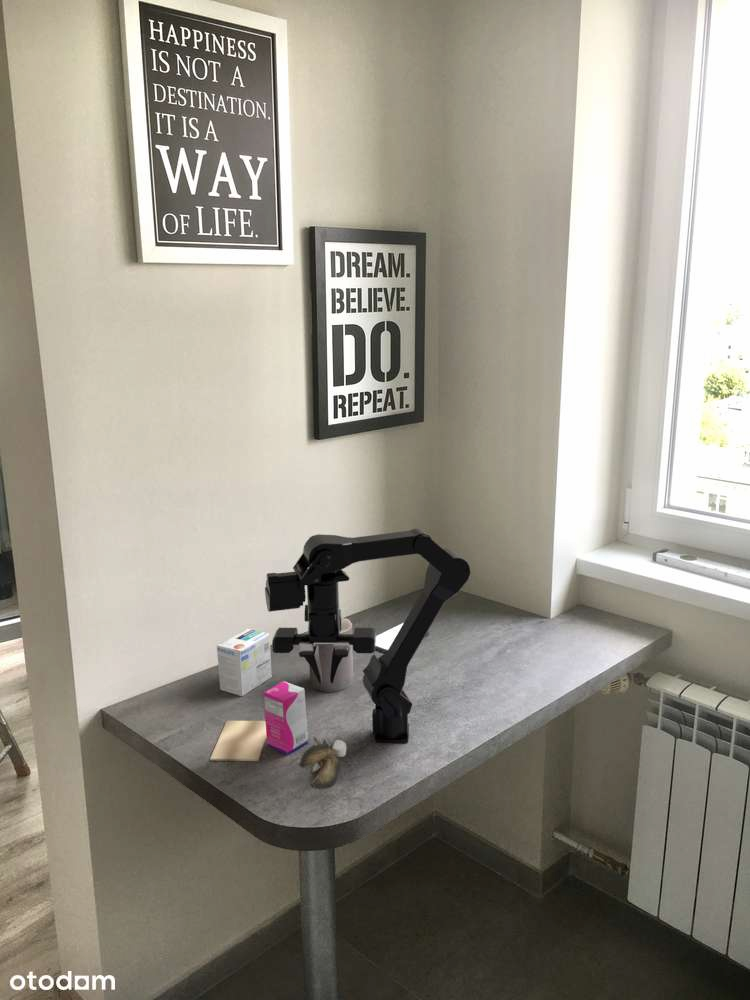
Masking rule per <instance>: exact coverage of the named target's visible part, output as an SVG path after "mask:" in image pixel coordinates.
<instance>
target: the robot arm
mask: <svg viewBox="0 0 750 1000" xmlns="http://www.w3.org/2000/svg"><path fill="white" fill-rule="evenodd" d="M302 550H303V551H302V554H301V555H300V556H299V558H298V560H297V561H296V562H295V564H294V565H293V567H292V569H293V571H287V572H286V571H285V572H279V573H278V572H270V573H269V572H268V573H267V574H266V581H265V587H264V594H265V595H264V596H265V604H266V609H267V611H268V613H269V612H277V611H278V612H279V611H286V610H287V611H288V610H294V609H300V608H301V607H303V606H304V622H307V623H308V625H309V634H307V633H301V634H300V633H298V631H299V629H298V628H297V627H278V628H277V629H276V631H275V633H274V635H273V637H272V643H271V645H272V647H271V648H272V653H274V654H290V653H291V652H292V651H294V646H295V645H296V646H299V652H298V657H300V658H304V659H305V661H306V662H307V663H308V665H309V667H310V666H311V668H312V670H313V672H314V674H315V676H316V678H317V680H318V682H319V683H321V682H322V671H321V665H320V658H319V649H318V645H334V649H333V653H332V662H331V674H330V681H331V683H333V681H334V678H335V674H336V671H337V668H338V666H339V664H340V662H341V660H342V658H343V657H348V655H349V649H350V645H352V651H354V652H355V653H357V654H372V656H371V657H370V660H369V662H368V664H367V665H366V667H365V668H364V669H362V673H363V677H362V683H363V687H364V689H365V691H366V692H367V695H368V696H369V698H370V699H371V701H372V702H373V704H375V707H374V708H373V709H372V714H371V717H372V721H371V723H372V735H374V741H375V742H376V743H409V741H410V740H409V737H410V735H409V734H410V733H409V732H410V725H409V724H410V723H409V714H410V713H411V710H412V707H413V703H412V700H410V698H409V696H408V695H407V694H406V692H405V691H404V686H405V684H406V679H407V678H406V677H407V670H408V666H409V664H410V662H411V661H412V659H413V657H414V655H415V654H416V652H417V650H418V648H419V647H420V645H421V643H422V642H423V640H424V637H425V635H426V633H427V632H428V630H429V631H430V628H431V626H432V624H433V623H434V621H435V620H436V618H437V616H438V614H439V613H440V611H441V609H442V608H443V606H444V605H445V603H446V602H447V601H449V600H450V599H451V598H453V597H455V596H456V595H457V594H458V593H459V592H460V591H461V589H462V588H463V587H464V586H465V585H466V583H467V582H468V580H470V577H471V572H472V571H471V567H470V564H468V563H469V562H468V561H467V560H465V559H464V558H463V557H461V556H460V555H459V554H458V553H457V552H455V551H454V550H453V549H450V548H442V547H441V546H440V545H439V544H437V543H436V542H435V541H434V540H432V537H431V535H429V534H428V533H427V532H425V531H424V530H423V529H421V528H413V529H411V530H402V531H395V532H388V533H387V532H386V533H380V534H379V533H378V534H372V535H364V536H357V537H349V536H348V537H346V536H342V535H334V534H319V533H318V534H314V535H312V536H310V537H309V538H308V539H307V541H305V543H304V546H303V549H302ZM410 555H419V556H421V557H422V558H423V559H424V560H426V562H428V563H429V564H428V566H427V568H426V573H425V578H424V585H423V589H422V591H421V592H420V595H419V596H418V598H417V599H416V601H415V602H414V605H413V607H411V610H410V611H409V613H408V615H407V616H406V618H405V620H404V622H403V623H404V624H403V625H402V627H401V629H400V630H399V632H398V634H397V636H396V637H395V639H394V641H393V642H392V644H391V646H390V648H389V649H388V651H387V652H386V653H382V655H380V656H377V655H375V654H374V653H375V651H376V650H375V644H376V636H377V635H376V634H377V631H376V630H375V628H373V627H354V630H353V633H352V634H340V631H341V629H342V623H341V618H342V611H341V609H340V596H339V583H340V582H341V583H342V582H348V581H349V580H350V577H349V575H348V574H347V572H346V571H344V569H345V568H348V567H349V566H351V565H353V564H357V563H358V562H359V563H360V562H366V561H373V560H374V561H375V560H381V559H389V558H395V557H403V556H410ZM306 595H307V604H305V605H304V603H305V602H306ZM425 638H426V637H425Z"/></svg>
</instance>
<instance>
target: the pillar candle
mask: <svg viewBox="0 0 750 1000" xmlns="http://www.w3.org/2000/svg"><path fill="white" fill-rule="evenodd" d="M341 623H342V629H341V631H340V634H353V623H352V622H351V621H350V619H348V618H344V617H341ZM307 628H308V629H307V630H308V634H309V624H308V626H307ZM318 649H319V658H320V665H321V671H322V682H321V683H319V682H318V680H317V678H316V676H315V674H314V672H313V670H312V668H311V666H310V665H309V684H310V686H311V687H312V688H313V689H315V690H317V691H320V692H325V693H329V692H330V693H332V692H340V691H345V690H346V689H349V687H351V686H352V684H353V681H354V670H353V669H354V668H353V665H354V664H353V662H354V661H353V659H354V658H353V645H350V649H349V655H348V657H343V658H342V660H341V662H340V664H339V666H338V668H337V671H336V674H335V678H334V681H333V683H331V681H330V674H331V662H332V653H333V649H334V645H318Z"/></svg>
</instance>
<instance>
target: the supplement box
mask: <svg viewBox="0 0 750 1000" xmlns="http://www.w3.org/2000/svg"><path fill="white" fill-rule="evenodd" d="M262 696H263V706H264V721H265V722H266V735H267V737H266V745H267V746H268V747H270V748H272V749H275V750H276V751H278V752H280V753H282V754H285V755H287V756H289V755H290V754H292V753H293V752H295V751H297V750H298V749H300V748H301V747H303V746H305V745H306V744H308V743H309V737H308V735H309V734H308V723H307V710H306V709H307V708H306V707H307V705H306V693H305V688H304V687H301V686H298V685H295V684H293V683H289V682H287V681H282V682H279V683H278V684H276V685H275V686H272V687H271V688H268V689H267V690H265V691H263V694H262Z"/></svg>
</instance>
